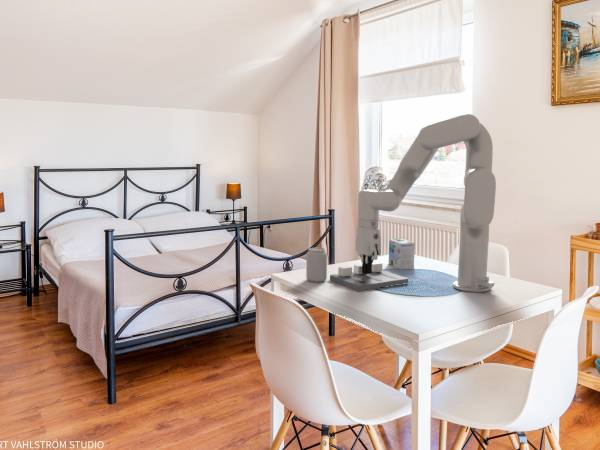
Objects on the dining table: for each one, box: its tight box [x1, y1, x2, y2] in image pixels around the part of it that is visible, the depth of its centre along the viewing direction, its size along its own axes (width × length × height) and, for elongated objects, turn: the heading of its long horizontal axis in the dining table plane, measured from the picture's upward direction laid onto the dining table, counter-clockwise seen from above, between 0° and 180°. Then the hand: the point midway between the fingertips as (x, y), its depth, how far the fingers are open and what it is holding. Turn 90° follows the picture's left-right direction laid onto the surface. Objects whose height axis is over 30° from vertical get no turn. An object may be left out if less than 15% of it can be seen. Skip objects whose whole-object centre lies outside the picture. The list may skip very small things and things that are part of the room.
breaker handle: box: [353, 263, 363, 274], centre depth 195 cm, size 3×4×3 cm
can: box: [305, 247, 328, 283], centre depth 192 cm, size 8×8×12 cm
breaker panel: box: [329, 261, 409, 293], centre depth 191 cm, size 18×22×5 cm
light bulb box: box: [388, 238, 416, 270], centre depth 217 cm, size 11×7×11 cm, turn 17°
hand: (366, 273), depth 192 cm, fingers closed
